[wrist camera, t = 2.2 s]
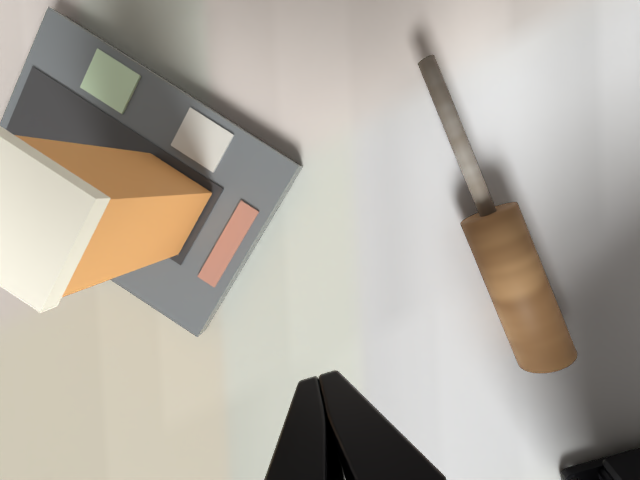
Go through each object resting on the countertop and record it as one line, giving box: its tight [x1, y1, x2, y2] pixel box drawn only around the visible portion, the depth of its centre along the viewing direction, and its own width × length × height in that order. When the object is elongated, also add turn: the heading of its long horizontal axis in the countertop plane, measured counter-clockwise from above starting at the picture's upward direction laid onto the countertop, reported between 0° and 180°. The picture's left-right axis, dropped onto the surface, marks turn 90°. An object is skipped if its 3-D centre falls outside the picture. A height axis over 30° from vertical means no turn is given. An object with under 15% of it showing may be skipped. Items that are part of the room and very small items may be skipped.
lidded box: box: [0, 126, 212, 313], centre depth 15 cm, size 4×4×8 cm
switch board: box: [0, 7, 302, 337], centre depth 19 cm, size 14×10×1 cm
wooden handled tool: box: [418, 55, 577, 373], centre depth 17 cm, size 14×2×2 cm, turn 24°
